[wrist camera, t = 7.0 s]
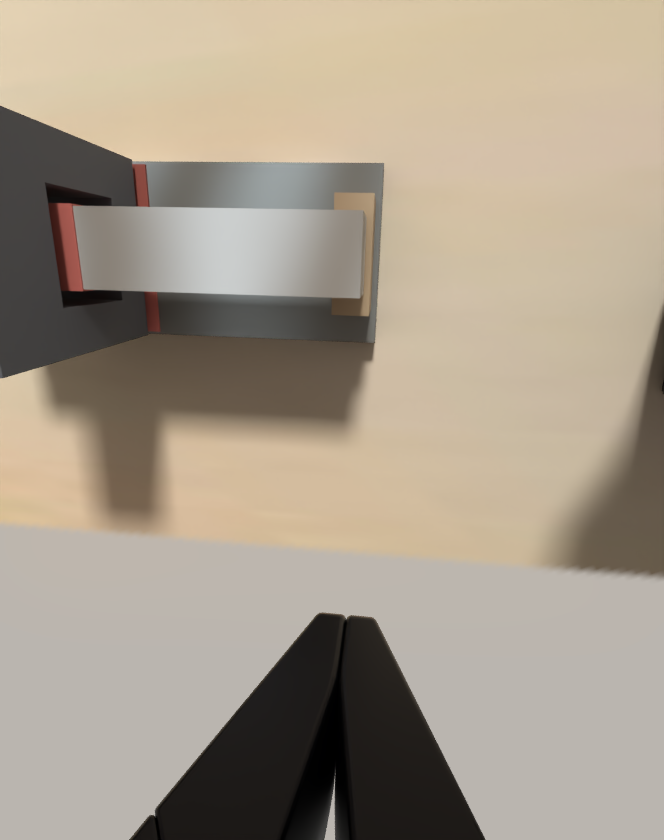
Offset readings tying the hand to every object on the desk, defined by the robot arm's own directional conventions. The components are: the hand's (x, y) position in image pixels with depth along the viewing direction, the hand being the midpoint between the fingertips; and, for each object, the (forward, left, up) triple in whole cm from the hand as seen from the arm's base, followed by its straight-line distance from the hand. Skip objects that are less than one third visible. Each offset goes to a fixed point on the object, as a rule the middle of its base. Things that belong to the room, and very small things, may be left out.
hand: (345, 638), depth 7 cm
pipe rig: (+7, -6, -13) cm, 16 cm away
